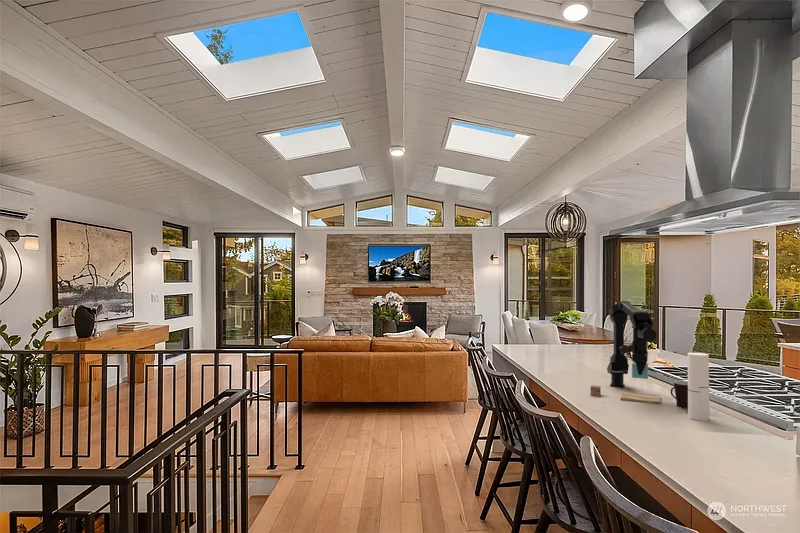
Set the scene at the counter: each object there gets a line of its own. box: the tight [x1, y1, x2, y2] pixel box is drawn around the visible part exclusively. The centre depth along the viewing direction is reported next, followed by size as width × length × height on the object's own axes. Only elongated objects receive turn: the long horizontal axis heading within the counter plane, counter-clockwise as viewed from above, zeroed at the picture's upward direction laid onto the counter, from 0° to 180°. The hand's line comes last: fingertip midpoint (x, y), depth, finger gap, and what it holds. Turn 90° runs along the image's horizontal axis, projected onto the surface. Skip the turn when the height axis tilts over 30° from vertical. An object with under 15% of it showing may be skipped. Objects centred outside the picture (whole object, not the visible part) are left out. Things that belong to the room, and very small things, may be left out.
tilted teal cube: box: [631, 361, 649, 380], centre depth 232 cm, size 6×6×6 cm
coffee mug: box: [670, 380, 688, 410], centre depth 218 cm, size 12×9×10 cm
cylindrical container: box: [687, 352, 710, 422], centre depth 201 cm, size 7×7×25 cm
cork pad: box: [619, 391, 662, 405], centre depth 232 cm, size 14×16×1 cm
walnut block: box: [590, 384, 602, 397], centre depth 240 cm, size 4×4×4 cm
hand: (640, 373), depth 232 cm, fingers closed on tilted teal cube, 6 cm apart
